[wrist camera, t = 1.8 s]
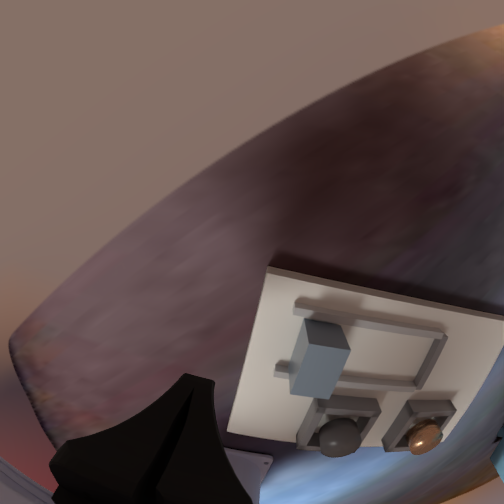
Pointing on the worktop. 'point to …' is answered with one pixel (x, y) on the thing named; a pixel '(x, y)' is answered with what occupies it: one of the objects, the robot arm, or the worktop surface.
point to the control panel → (363, 362)
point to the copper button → (424, 436)
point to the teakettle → (499, 455)
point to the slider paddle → (317, 359)
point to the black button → (339, 437)
